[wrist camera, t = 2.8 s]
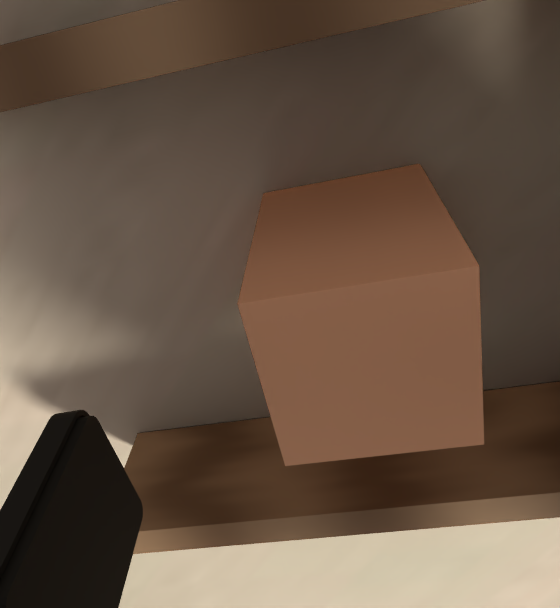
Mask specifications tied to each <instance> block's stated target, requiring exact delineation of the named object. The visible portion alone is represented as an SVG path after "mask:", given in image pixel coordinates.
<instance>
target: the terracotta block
mask: <svg viewBox="0 0 560 608" xmlns="http://www.w3.org/2000/svg"><path fill="white" fill-rule="evenodd" d="M237 304H238V308H239V311H240V314H241V318H242V321H243V325H244V328H245V331H246V335H247V338H248V342H249V345H250V348H251V352H252V355H253V359H254V362H255V365H256V369H257V372H258V375H259V379H260V382H261V386H262V389H263V392H264V396H265V399H266V403H267V406H268V409H269V413H270V416H271V420H272V423H273V426H274V430H275V433H276V437H277V440H278V443H279V447H280V450H281V454H282V457H283V460H284V464H285V466H290V465H300V464H309V463H318V462H327V461H337V460H346V459H355V458H364V457H373V456H383V455H392V454H401V453H410V452H419V451H429V450H438V449H447V448H456V447H466V446H475V445H484V418H483V382H482V346H481V311H480V275H479V264H478V263H477V261H476V259H475V258H474V256H473V254H472V252H471V251H470V249H469V247H468V246H467V244H466V242H465V240H464V239H463V237H462V235H461V233H460V232H459V230H458V228H457V227H456V225H455V223H454V221H453V220H452V218H451V216H450V215H449V213H448V211H447V209H446V208H445V206H444V204H443V203H442V201H441V199H440V197H439V196H438V194H437V192H436V190H435V189H434V187H433V185H432V184H431V182H430V180H429V178H428V177H427V175H426V173H425V172H424V170H423V168H422V166H421V165H420V164H415V165H410V166H404V167H399V168H394V169H388V170H383V171H378V172H373V173H367V174H362V175H357V176H351V177H346V178H341V179H336V180H330V181H325V182H320V183H314V184H309V185H304V186H299V187H293V188H288V189H283V190H277V191H272V192H267V193H263V197H262V201H261V206H260V210H259V214H258V218H257V223H256V227H255V231H254V235H253V240H252V244H251V248H250V252H249V257H248V261H247V265H246V269H245V274H244V278H243V282H242V286H241V291H240V295H239V299H238V303H237Z"/></svg>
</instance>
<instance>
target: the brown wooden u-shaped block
mask: <svg viewBox="0 0 560 608" xmlns="http://www.w3.org/2000/svg"><path fill="white" fill-rule="evenodd" d="M480 1H485V0H178V1H174V2H170V3H166V4H162V5H158V6H154V7H150V8H147V9H143V10H139V11H135V12H131V13H127V14H123V15H119V16H115V17H111V18H107V19H103V20H99V21H95V22H91V23H87V24H83V25H79V26H75V27H71V28H67V29H63V30H59V31H55V32H51V33H47V34H43V35H39V36H35V37H31V38H27V39H23V40H20V41H16V42H12V43H8V44H4V45H0V112H4V111H8V110H12V109H17V108H21V107H25V106H30V105H34V104H38V103H43V102H47V101H51V100H56V99H60V98H64V97H69V96H73V95H77V94H82V93H86V92H90V91H95V90H99V89H103V88H108V87H112V86H116V85H121V84H125V83H129V82H134V81H138V80H142V79H147V78H151V77H155V76H160V75H164V74H168V73H173V72H177V71H181V70H186V69H190V68H194V67H199V66H203V65H207V64H212V63H216V62H220V61H225V60H229V59H233V58H238V57H242V56H246V55H251V54H255V53H259V52H264V51H268V50H272V49H277V48H281V47H285V46H290V45H294V44H298V43H303V42H307V41H311V40H316V39H320V38H324V37H329V36H333V35H337V34H342V33H346V32H350V31H355V30H359V29H363V28H368V27H372V26H376V25H381V24H385V23H389V22H394V21H398V20H402V19H407V18H411V17H415V16H420V15H424V14H428V13H433V12H437V11H441V10H446V9H450V8H454V7H459V6H463V5H467V4H472V3H476V2H480ZM483 418H484V445H475V446H466V447H456V448H447V449H438V450H429V451H419V452H410V453H401V454H392V455H383V456H373V457H364V458H355V459H346V460H337V461H327V462H318V463H309V464H300V465H290V466H285V464H284V460H283V457H282V454H281V450H280V447H279V443H278V440H277V437H276V433H275V430H274V426H273V423H272V420H271V417H267V418H259V419H251V420H243V421H234V422H226V423H218V424H210V425H202V426H194V427H186V428H178V429H169V430H161V431H153V432H145V433H138V434H137V437H136V439H135V442H134V445H133V447H132V450H131V452H130V455H129V457H128V460H127V463H126V465H125V468H124V470H125V472H126V473H127V475H128V477H129V479H130V481H131V483H132V485H133V486H134V488H135V490H136V492H137V494H138V496H139V498H140V500H141V502H142V506H143V518H142V522H141V526H140V529H139V533H138V537H137V540H136V544H135V548H134V551H133V554H139V553H150V552H162V551H173V550H185V549H197V548H208V547H220V546H231V545H243V544H254V543H266V542H278V541H289V540H301V539H312V538H324V537H336V536H347V535H359V534H370V533H382V532H393V531H405V530H417V529H428V528H440V527H451V526H463V525H475V524H486V523H498V522H509V521H521V520H532V519H544V518H556V517H560V382H552V383H543V384H535V385H527V386H519V387H511V388H503V389H495V390H486V391H483Z"/></svg>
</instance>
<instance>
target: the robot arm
mask: <svg viewBox="0 0 560 608" xmlns="http://www.w3.org/2000/svg"><path fill="white" fill-rule="evenodd" d="M142 518H143V506H142V502H141V500H140V498H139V496H138V494H137V492H136V490H135V488H134V486H133V485H132V483H131V481H130V479H129V477H128V475H127V473H126V472H125V470H124V468H123V466H122V464H121V462H120V460H119V458H118V457H117V455H116V453H115V451H114V449H113V447H112V445H111V444H110V442H109V440H108V438H107V436H106V434H105V432H104V431H103V429H102V427H101V425H100V423H99V421H98V420H97V418H96V417H94V416H89V414H88V413H87V412H86V411H84V410H78V411H71V412H64V413H58V414H54V415H53V416H52V417H51V418H50V419H49V421H48V423H47V425H46V427H45V428H44V430H43V432H42V434H41V436H40V438H39V440H38V441H37V443H36V445H35V447H34V449H33V451H32V452H31V454H30V456H29V458H28V460H27V462H26V464H25V465H24V467H23V469H22V471H21V473H20V475H19V477H18V478H17V480H16V482H15V484H14V486H13V488H12V490H11V491H10V493H9V495H8V497H7V499H6V501H5V503H4V504H3V506H2V508H1V510H0V608H118V606H119V603H120V599H121V595H122V592H123V588H124V584H125V581H126V577H127V573H128V570H129V566H130V562H131V559H132V555H133V551H134V548H135V544H136V540H137V537H138V533H139V529H140V526H141V522H142Z"/></svg>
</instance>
